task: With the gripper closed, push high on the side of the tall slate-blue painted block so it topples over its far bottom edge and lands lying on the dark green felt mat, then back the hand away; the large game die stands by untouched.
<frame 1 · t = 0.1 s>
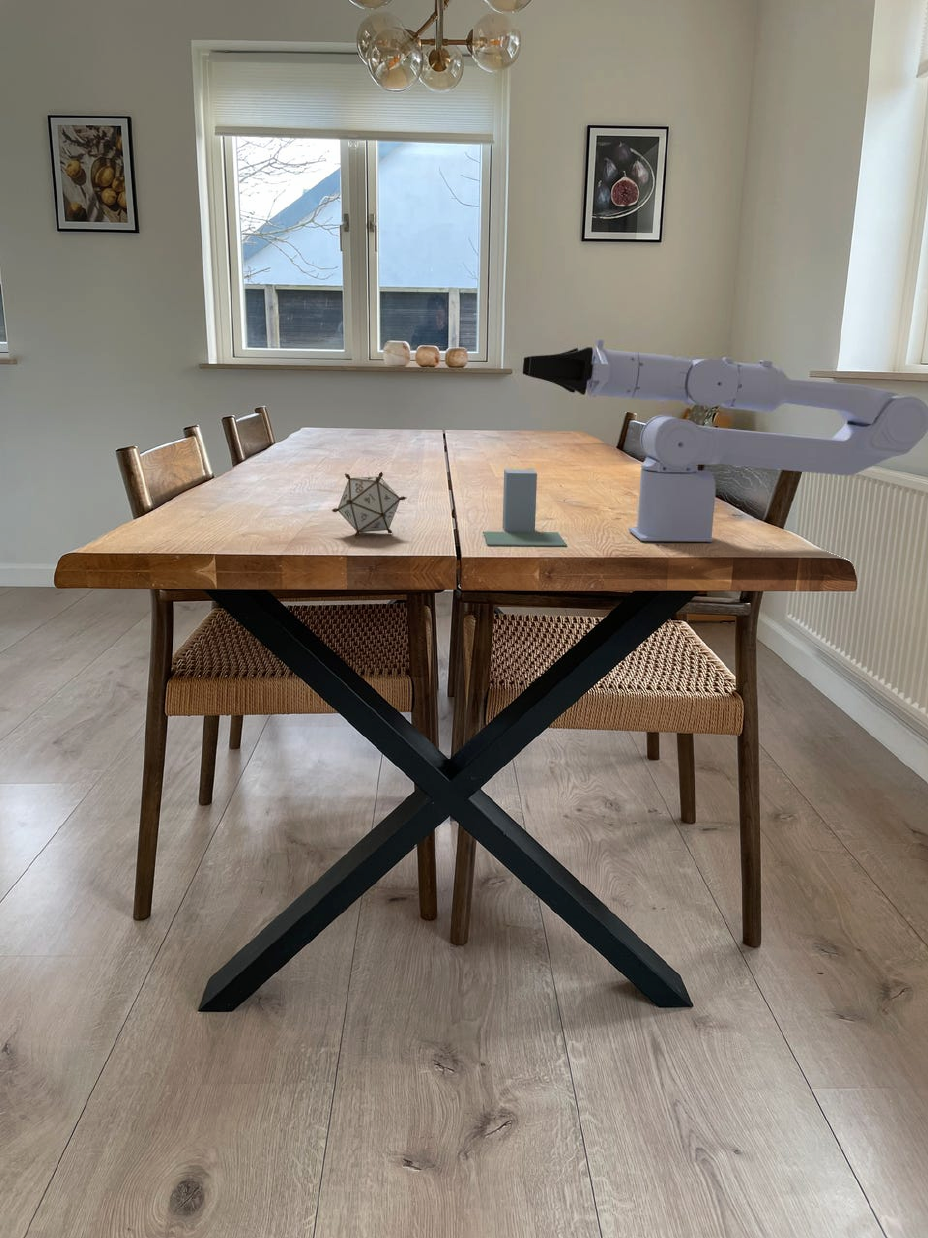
hand: (526, 365, 119), 22 cm above the table, tool horizontal, fingers open, 7 cm apart
felt mat: (523, 539, 122), on the table
game die: (369, 536, 124), on the table
slate-blue block: (518, 530, 128), on the table
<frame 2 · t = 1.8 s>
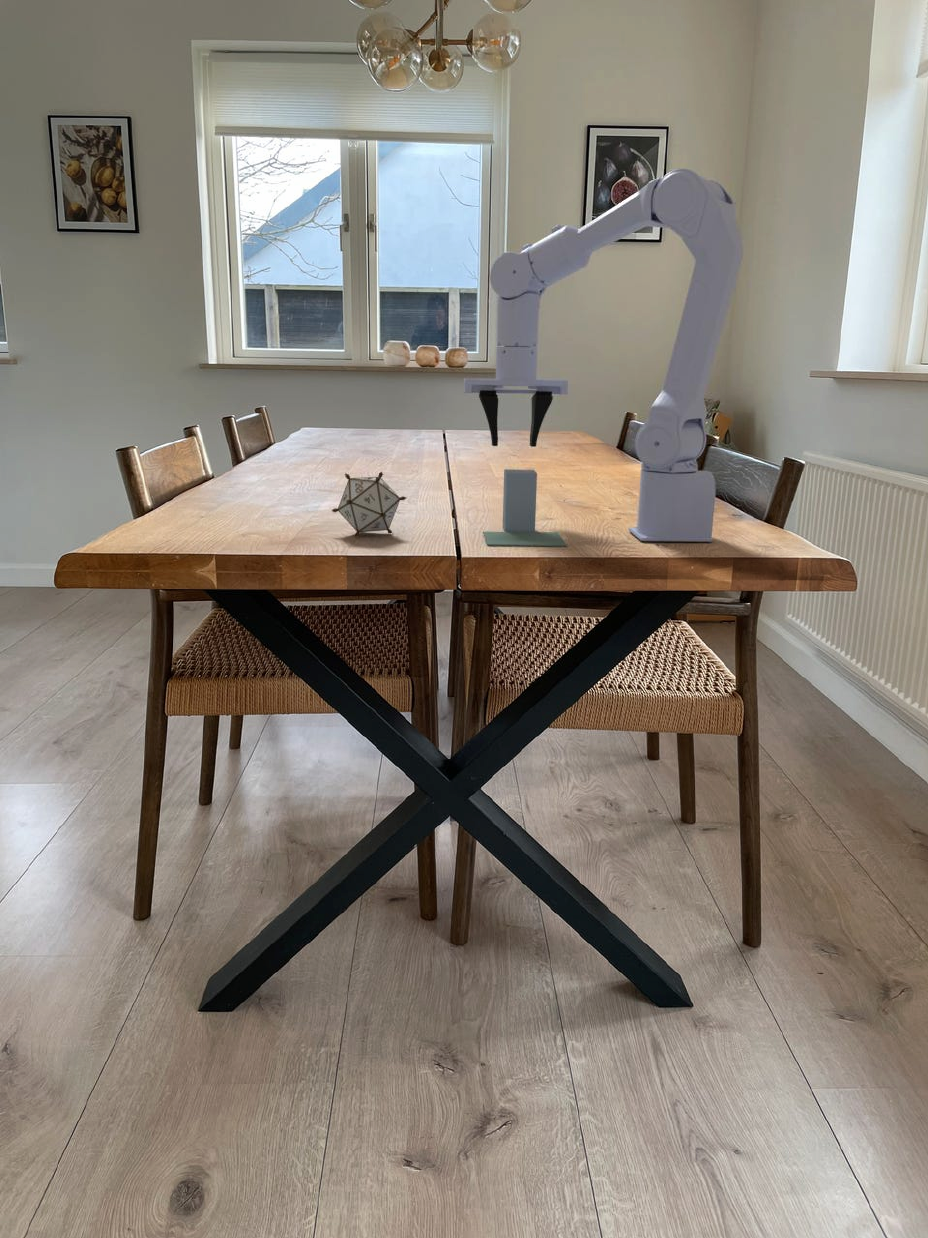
hand: (513, 445, 135), 10 cm above the table, tool pointing down, fingers open, 5 cm apart
nothing on the table moved.
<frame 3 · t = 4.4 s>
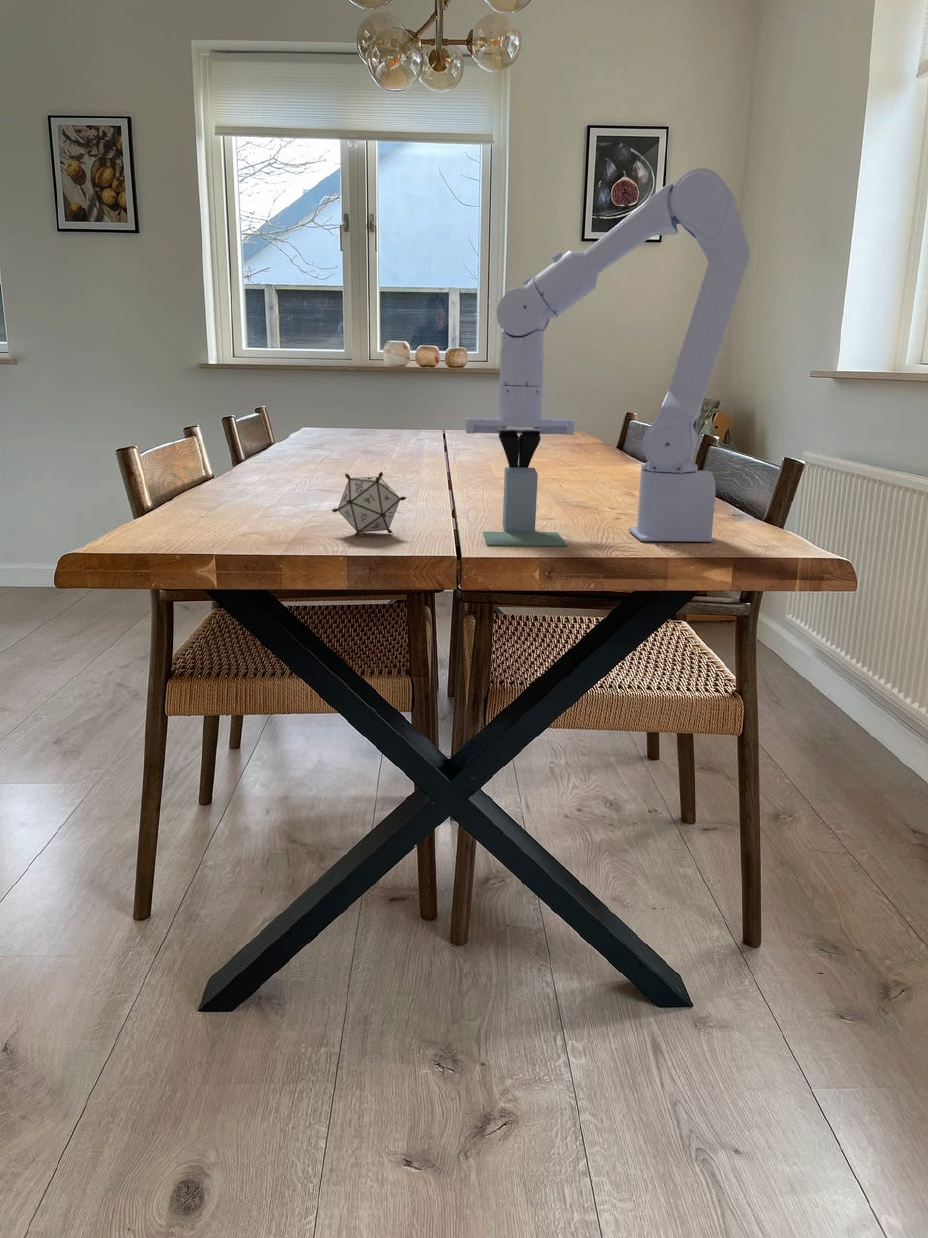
hand: (517, 487, 130), 5 cm above the table, tool pointing down, fingers closed
slate-blue block: (518, 528, 128), on the table, tilted 6°, touching gripper
everything else where it was.
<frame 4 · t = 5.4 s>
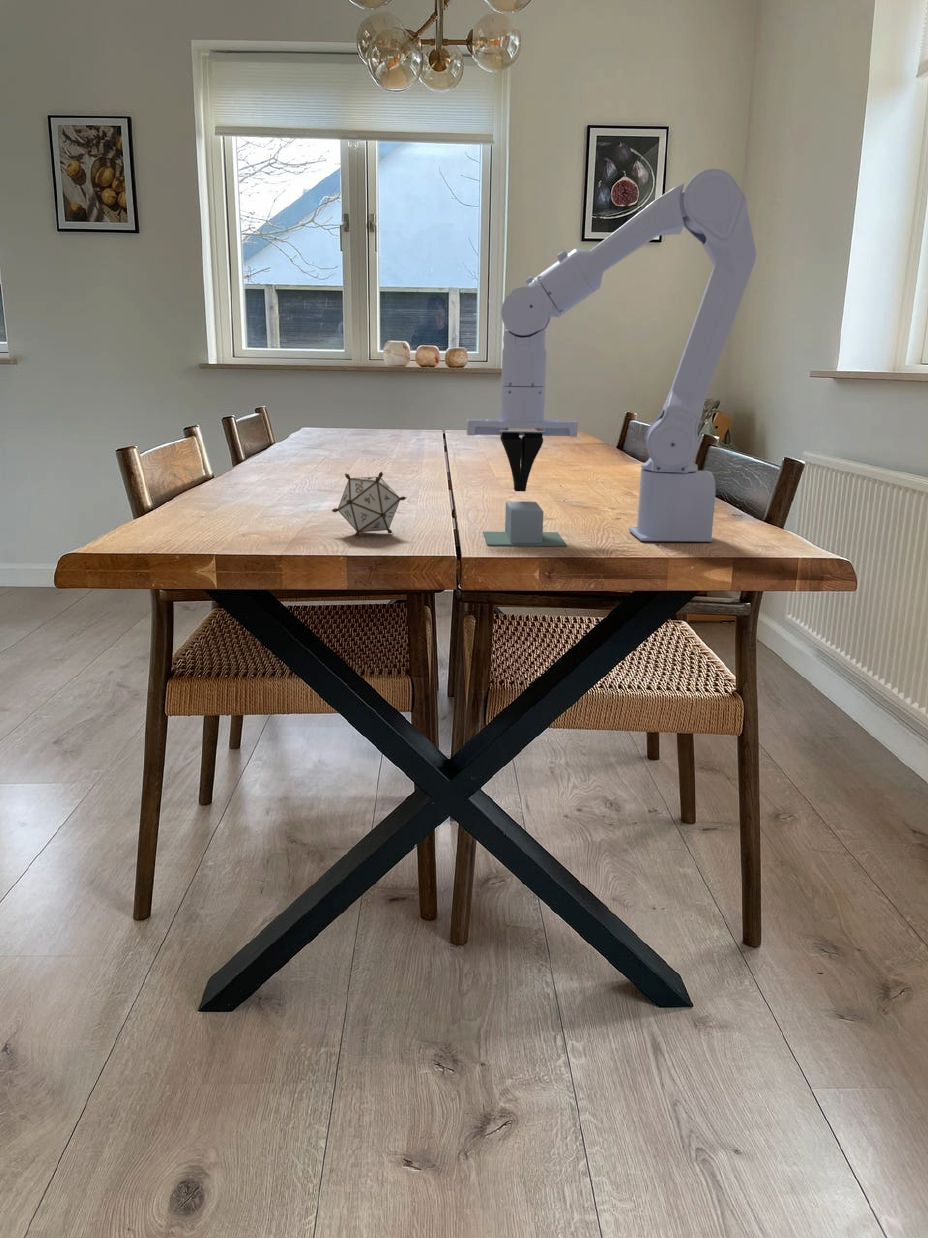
hand: (519, 490, 127), 5 cm above the table, tool pointing down, fingers closed
slate-blue block: (520, 516, 126), point 2 cm above the table, tilted 90°, touching felt mat
everything else where it was.
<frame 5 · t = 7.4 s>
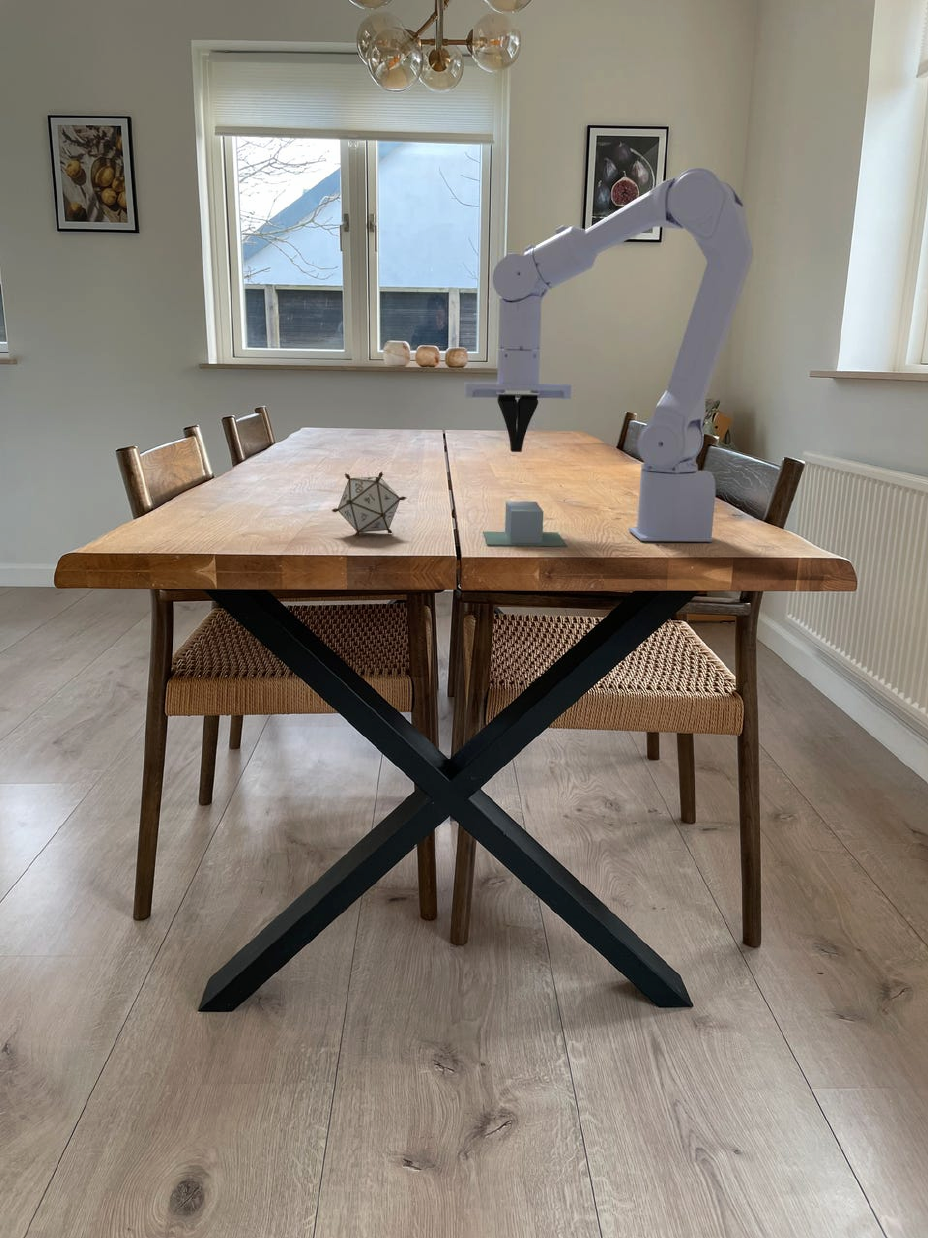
hand: (516, 451, 132), 10 cm above the table, tool pointing down, fingers closed
nothing on the table moved.
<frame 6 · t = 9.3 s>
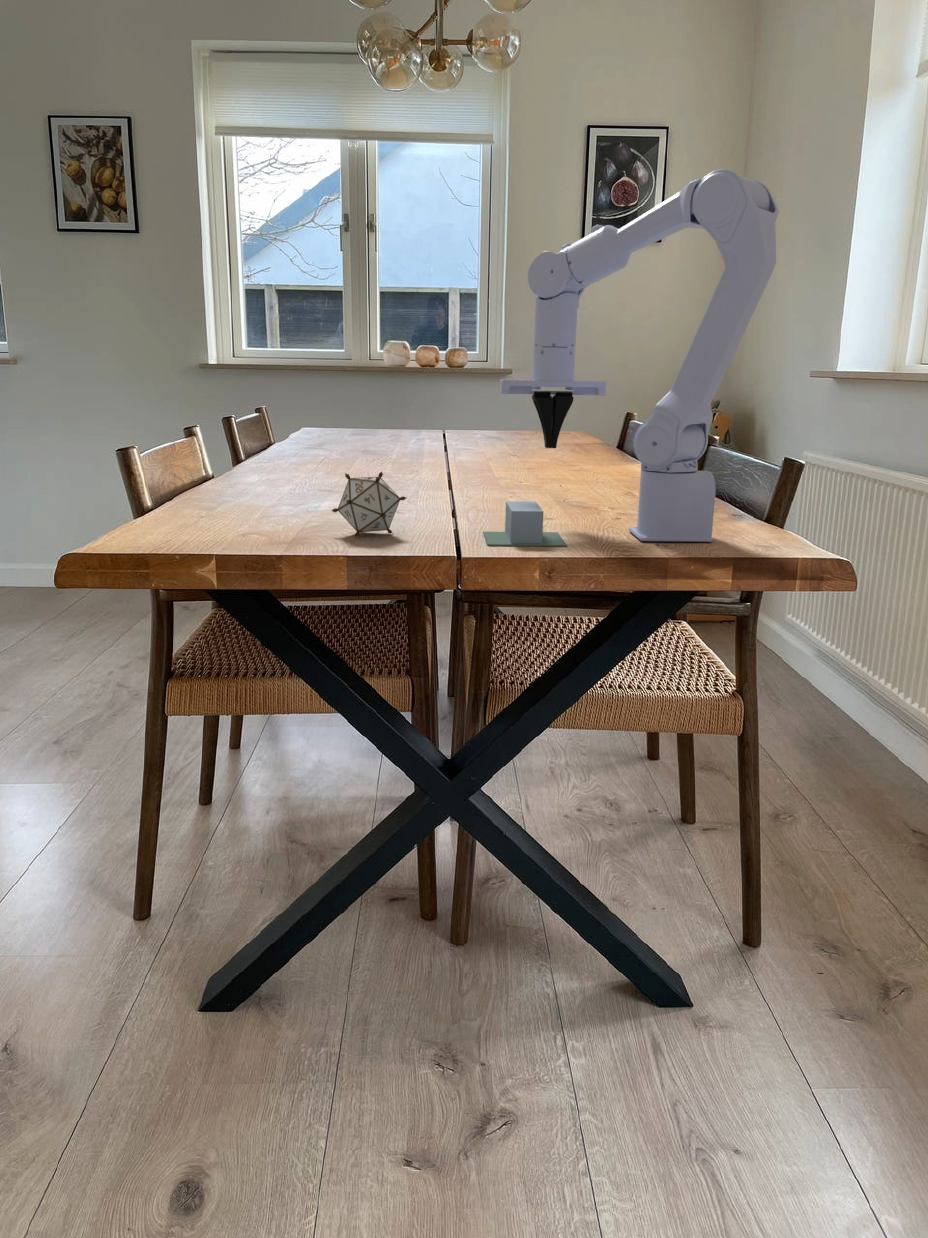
hand: (550, 447, 133), 10 cm above the table, tool pointing down, fingers closed
nothing on the table moved.
at the end: slate-blue block tilted 90°; slate-blue block inside the target area (4.3 cm from its centre), point 2.2 cm above the table; slate-blue block touching felt mat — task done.
